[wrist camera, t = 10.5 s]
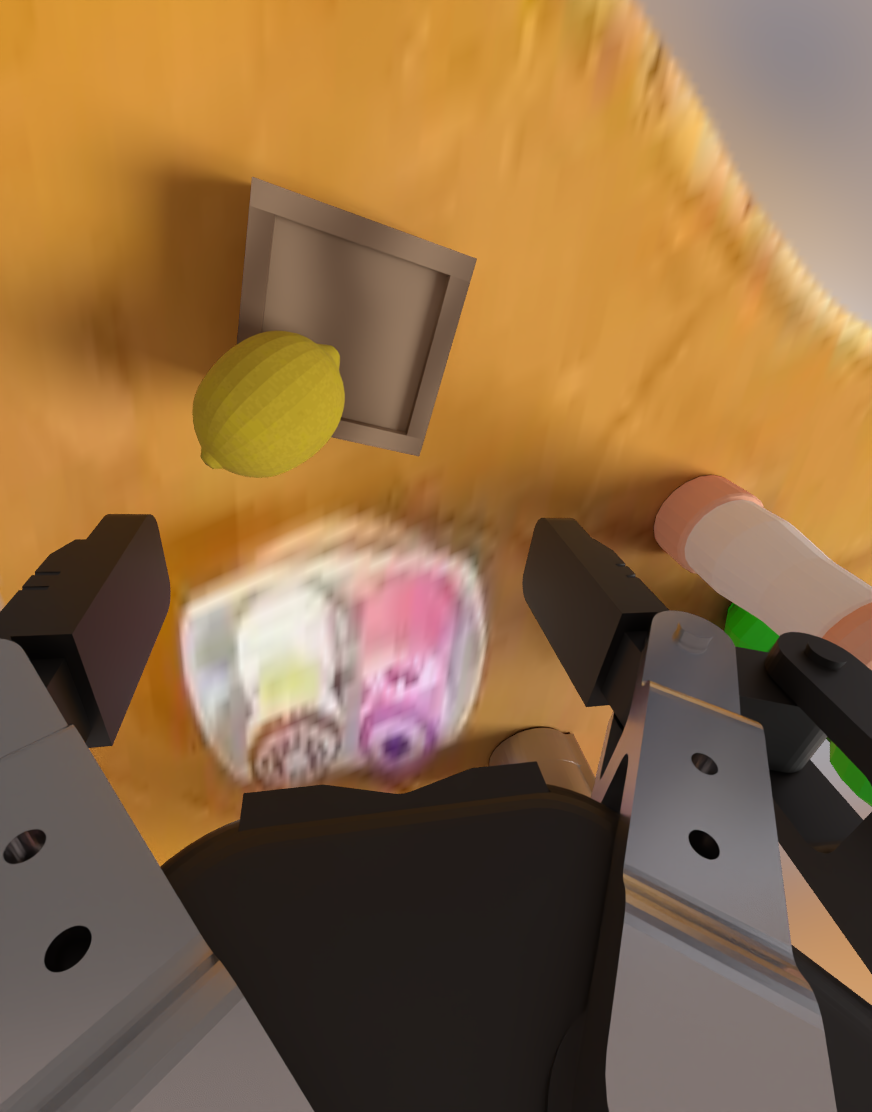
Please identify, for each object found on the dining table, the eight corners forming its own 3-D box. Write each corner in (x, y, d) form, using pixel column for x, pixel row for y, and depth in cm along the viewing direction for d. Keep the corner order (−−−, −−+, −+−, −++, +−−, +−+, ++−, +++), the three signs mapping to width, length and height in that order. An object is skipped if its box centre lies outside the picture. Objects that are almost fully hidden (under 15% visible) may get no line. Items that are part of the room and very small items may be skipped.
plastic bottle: (772, 641, 52) (1063, 904, 32) (686, 647, 50) (939, 935, 30) (820, 562, 47) (1206, 817, 27) (726, 565, 45) (1069, 845, 24)
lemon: (321, 372, 27) (208, 471, 25) (274, 276, 22) (129, 391, 20) (391, 416, 24) (272, 528, 23) (357, 320, 20) (201, 453, 18)
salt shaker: (713, 552, 44) (935, 732, 28) (641, 552, 42) (833, 743, 26) (750, 476, 40) (1031, 634, 24) (672, 473, 38) (918, 640, 22)
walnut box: (450, 255, 28) (476, 258, 23) (405, 425, 32) (419, 456, 28) (264, 187, 25) (252, 176, 20) (244, 386, 29) (230, 414, 25)
